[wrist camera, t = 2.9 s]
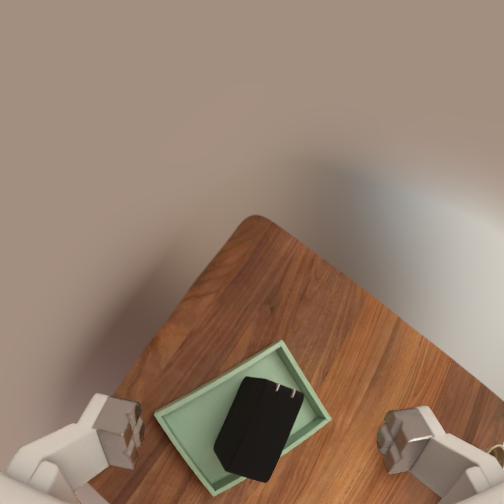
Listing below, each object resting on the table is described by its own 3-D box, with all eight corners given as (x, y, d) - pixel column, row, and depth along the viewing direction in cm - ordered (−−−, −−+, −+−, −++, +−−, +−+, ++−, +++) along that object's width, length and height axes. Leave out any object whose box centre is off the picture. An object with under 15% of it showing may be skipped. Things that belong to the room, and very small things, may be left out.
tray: (210, 488, 30) (213, 497, 28) (154, 410, 33) (153, 414, 30) (321, 416, 37) (332, 419, 34) (274, 341, 39) (282, 339, 37)
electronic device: (211, 447, 32) (225, 474, 23) (243, 375, 36) (268, 378, 27) (243, 458, 33) (267, 485, 23) (274, 387, 37) (307, 393, 28)
